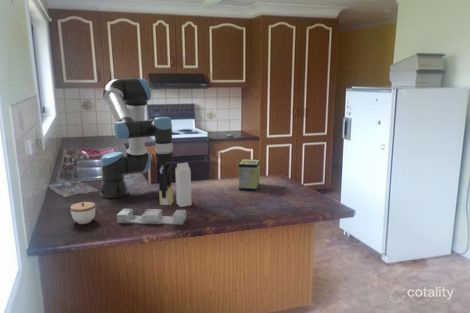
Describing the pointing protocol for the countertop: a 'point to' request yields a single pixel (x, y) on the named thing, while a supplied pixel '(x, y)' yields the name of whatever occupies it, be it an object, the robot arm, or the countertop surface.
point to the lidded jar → (83, 212)
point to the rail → (151, 217)
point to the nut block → (170, 195)
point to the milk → (183, 184)
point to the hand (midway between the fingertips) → (166, 202)
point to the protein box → (249, 174)
